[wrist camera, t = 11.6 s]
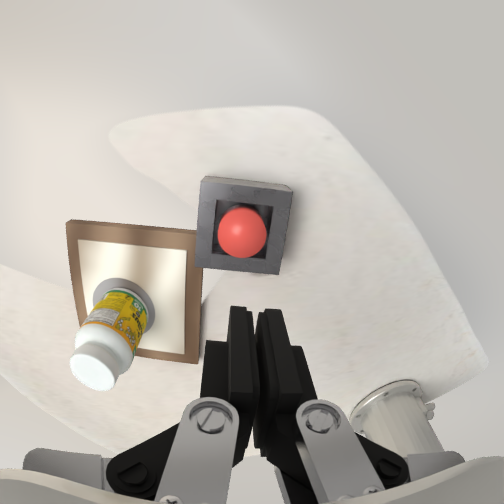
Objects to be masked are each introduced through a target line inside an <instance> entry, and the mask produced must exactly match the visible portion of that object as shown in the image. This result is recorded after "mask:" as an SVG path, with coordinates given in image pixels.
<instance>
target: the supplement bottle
mask: <svg viewBox="0 0 504 504" xmlns="http://www.w3.org/2000/svg"><path fill="white" fill-rule="evenodd" d="M147 322H148V310H147V307H146V305H145V303H144V302H143V301H142V299H141V298H140V297H139V296H138V295H137V294H136V293H134V292H132V291H131V290H128V289H125V288H113V289H110V290H108V291H107V292H105V293H104V294H103V296H102V297H101V298H100V300H99V301H98V302H97V304H96V305H95V307H94V308H93V309H92V311H91V312H90V314H89V315H88V317H87V318H86V320H85V321H84V322H83V324H82V325H81V327H80V328H79V330H78V332H77V334H76V336H75V348H76V350H75V351H74V354H73V355H72V357H71V359H70V368H71V371H72V373H73V374H74V376H75V377H76V378H77V379H78V380H79V381H80V382H82V383H83V384H84V385H86V386H88V387H90V388H92V389H95V390H98V391H107V390H110V389H112V388H113V387H114V385H115V383H116V381H117V379H118V376H119V375H121V374H123V373H124V372H126V371H127V370H128V369H129V367H130V366H131V364H132V361H133V358H134V356H135V353H136V350H137V348H138V345H139V343H140V340H141V337H142V335H143V332H144V330H145V328H146V325H147Z"/></svg>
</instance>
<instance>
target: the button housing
mask: <svg viewBox="0 0 504 504" xmlns="http://www.w3.org/2000/svg"><path fill="white" fill-rule="evenodd" d="M292 194H293V192H292V191H291V190H290V189H289V188H288V187H287V186H286V185H280V184H273V183H265V182H257V181H249V180H240V179H231V178H221V177H211V176H205V177H204V178H203V179H202V181H201V185H200V196H199V207H198V220H197V234H196V248H195V265H194V267H201V268H211V269H221V270H231V271H242V272H252V273H263V274H274V275H279V271H280V265H281V259H282V254H283V248H284V242H285V237H286V231H287V225H288V219H289V213H290V207H291V201H292ZM239 204H244V205H249V206H251V207H253V208H255V209H256V210H257V211H258V212H259V213H260V215H261V217H262V220H263V222H264V225H265V228H266V241H265V244H264V246H263V247H262V249H261V250H260V251H259V252H258V253H256V254H255V255H253V256H250V257H246V258H238V257H234V256H231V255H229V254H228V253H226V252H225V251H224V250H223V249H222V247H221V246H220V243H219V241H218V229H219V223H220V219H221V217H222V215H223V213H224V212H225V211H226V210H227V209H228V208H230V207H232V206H234V205H239Z"/></svg>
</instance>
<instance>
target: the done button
mask: <svg viewBox="0 0 504 504" xmlns="http://www.w3.org/2000/svg"><path fill="white" fill-rule="evenodd" d="M218 241H219V243H220V246H221V247H222V249H223V250H224V251H225V252H226V253H228V254H229V255H231V256H234V257H238V258H246V257H250V256H253V255H255V254H256V253H258V252H259V251H260V250H261V249H262V247H263V246H264V244H265V241H266V228H265V225H264V222H263V220H262V217H261V215H260V213H259V212H258V211H257V210H256V209H255V208H253V207H251V206H249V205H244V204H239V205H234V206H232V207H230V208H228V209H227V210H226V211H225V212H224V213H223V215H222V217H221V219H220V223H219V229H218Z"/></svg>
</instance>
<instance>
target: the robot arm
mask: <svg viewBox="0 0 504 504" xmlns="http://www.w3.org/2000/svg"><path fill="white" fill-rule="evenodd" d="M421 397H422V390H421V388H420V386H419V385H418V384H417V383H416V382H414V381H406V380H405V381H398V382H395V383H392V384H389V385H386V386H384V387H382V388H380V389H378V390H376V391H375V392H373V393H372V394H370V395H369V396H367V397H366V398H365V399H364V400H363V401H361V402H360V403H359V404H358V406H357V407H356V408H355V409H354V411H353V412H352V414H351V417H350V423H349V421H348V419H347V418H346V416H345V414H344V412H343V411H342V410H341V409H340V408H339V407H338V406H337V405H335V404H334V403H331V402H329V401H326V400H318V398H317V395H316V392H315V388H314V385H313V382H312V378H311V375H310V372H309V368H308V365H307V362H306V359H305V355H304V352H303V349H302V347H301V346H291V345H290V341H289V337H288V333H287V330H286V326H285V322H284V318H283V314H282V311H281V310H280V309H265V311H264V312H259V314H258V320H257V326H256V332H255V335H254V325H253V316H252V311H247V309H246V307H240V306H231V307H230V315H229V325H228V334H227V342H222V341H211V340H206V346H205V355H204V364H203V373H202V383H201V393H200V398H199V399H196V400H194V401H192V402H191V403H190V404H188V405H187V407H186V408H185V410H184V412H183V415H182V418H181V421H180V423H178V424H176V425H174V426H172V427H171V428H169V429H167V430H165V431H163V432H162V433H160V434H158V435H156V436H154V437H152V438H150V439H148V440H146V441H145V442H143V443H141V444H139V445H137V446H135V447H133V448H131V449H129V450H127V451H125V452H122V453H120V454H118V455H117V456H116V457H114V458H102V456H101V455H93V454H82V453H72V452H65V451H57V450H51V449H44V448H36V449H34V450H32V451H30V452H29V453H28V454H27V455H26V456H25V459H24V462H23V469H0V504H226V500H227V495H228V489H229V482H230V476H231V470H232V468H233V467H234V466H235V465H237V464H238V463H239V462H240V461H242V460H243V456H244V453H245V449H246V448H247V446H248V442H249V438H250V434H251V430H252V426H253V438H254V447H255V448H260V453H261V457H267V460H268V461H269V462H270V463H272V464H273V465H274V470H275V474H276V477H277V481H278V484H279V487H280V490H281V493H282V497H283V500H284V503H285V504H504V457H500V456H493V457H482V458H477V459H473V460H470V461H467V462H465V460H464V458H463V457H462V456H461V455H460V454H459V453H457V452H454V451H446V452H445V451H444V449H443V447H442V445H441V443H440V442H439V440H438V438H437V436H436V434H435V433H434V431H433V429H432V427H431V425H430V424H429V422H428V420H431V419H432V418H433V416H434V413H433V411H432V410H434V408H435V404H434V403H429V404H426V405H424V404H423V402H422V400H421ZM350 424H351V425H350ZM354 431H355V432H354ZM356 432H357V433H360V434H365V436H366V438H365V437H363V436H361V435H359V434H357V433H356Z"/></svg>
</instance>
